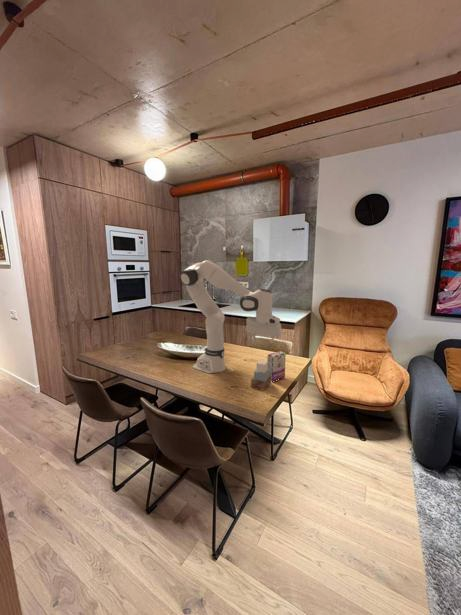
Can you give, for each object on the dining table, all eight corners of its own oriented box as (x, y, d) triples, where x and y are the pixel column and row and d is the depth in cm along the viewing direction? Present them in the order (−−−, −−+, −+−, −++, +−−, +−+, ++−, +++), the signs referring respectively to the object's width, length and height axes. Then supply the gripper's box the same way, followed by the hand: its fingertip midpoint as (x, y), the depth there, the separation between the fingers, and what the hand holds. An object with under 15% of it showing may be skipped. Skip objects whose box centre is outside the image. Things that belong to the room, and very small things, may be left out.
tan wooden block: (250, 387, 148) (251, 379, 147) (256, 381, 156) (256, 373, 155) (265, 391, 144) (266, 382, 143) (270, 384, 152) (271, 376, 151)
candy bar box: (279, 375, 164) (280, 350, 161) (285, 378, 160) (286, 352, 157) (266, 379, 157) (267, 354, 154) (272, 382, 153) (273, 356, 150)
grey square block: (253, 379, 147) (254, 371, 146) (257, 374, 153) (258, 367, 152) (265, 381, 144) (266, 374, 143) (269, 376, 150) (269, 369, 150)
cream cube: (256, 371, 147) (256, 363, 146) (259, 368, 151) (259, 360, 151) (264, 373, 145) (264, 364, 144) (267, 369, 149) (267, 361, 148)
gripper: (244, 317, 145) (243, 340, 147) (279, 321, 136) (278, 346, 138) (248, 315, 151) (247, 338, 153) (283, 319, 142) (281, 343, 144)
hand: (262, 342), depth 146 cm, fingers open, 8 cm apart
